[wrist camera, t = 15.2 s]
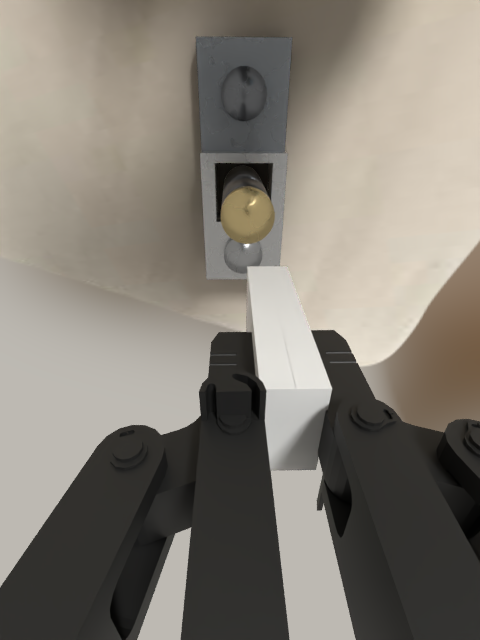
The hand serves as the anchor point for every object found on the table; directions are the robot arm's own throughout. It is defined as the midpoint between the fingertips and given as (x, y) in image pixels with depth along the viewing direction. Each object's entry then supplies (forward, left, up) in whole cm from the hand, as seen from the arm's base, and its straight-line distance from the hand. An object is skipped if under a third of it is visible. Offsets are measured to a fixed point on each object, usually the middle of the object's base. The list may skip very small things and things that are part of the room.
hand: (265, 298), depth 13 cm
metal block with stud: (-2, 0, -26) cm, 26 cm away
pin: (0, 0, -26) cm, 26 cm away
